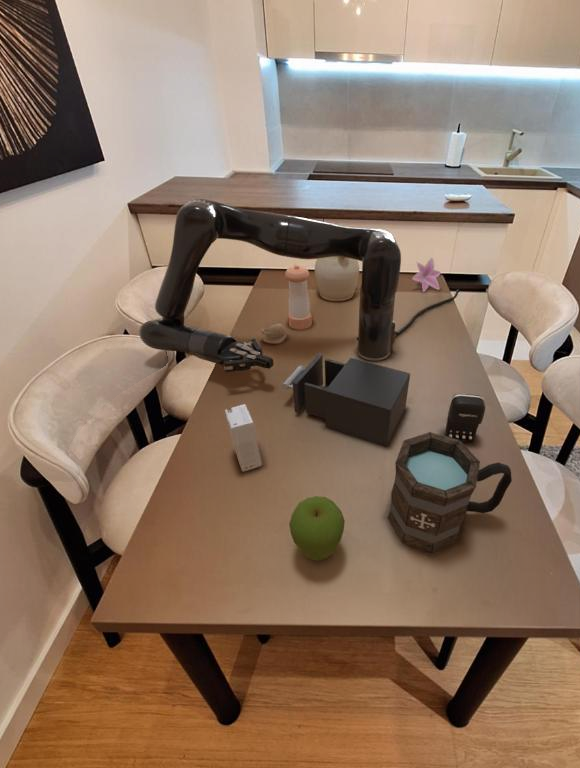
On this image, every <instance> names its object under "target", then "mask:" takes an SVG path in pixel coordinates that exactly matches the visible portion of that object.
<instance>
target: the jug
mask: <svg viewBox="0 0 580 768" xmlns="http://www.w3.org/2000/svg"><path fill="white" fill-rule="evenodd" d="M332 224H333V225H337V226H342V227H347V226H346V224H344V223H341V222H333V223H332ZM314 275H315V280H316V286H317V289H318V290H317V291H318V292H319V296H320V297H321V298H322V299H323V300H326V301H330V302H345V301H347V300H350V299H352V298H353V296H354V294H355V291H356V288H357V285H358V280H359V275H360V263H359V260H355V259H351V258H346V257H326V258H319V259H315V263H314Z"/></svg>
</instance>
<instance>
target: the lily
mask: <svg viewBox="0 0 580 768" xmlns="http://www.w3.org/2000/svg"><path fill="white" fill-rule="evenodd" d="M416 267H417V269H418V272H417V273H415V274H414V275H413V276H412V278H411V279H412V280H413V281H415V282H418V283H421V287H422V292H423V293H425V292H426V291H427V289H428V288H429V286H430V287H431V288H433V289H436V290H438V291H439V290H440V285H439V282H438V279H437V278H438V277H439V276H440V275H441V274H442V272H441V271H439V270H435V261H434V258H433V257H430V258H429V260H428V261H427V262H426V264H422V263H420V262H418V261H417V262H416Z"/></svg>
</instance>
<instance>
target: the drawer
mask: <svg viewBox="0 0 580 768" xmlns="http://www.w3.org/2000/svg"><path fill="white" fill-rule="evenodd" d="M323 362H324V363H323ZM323 364H324V365H323ZM345 364H346V362H345V363H344V362H340V361H336V360H333V359H329V358H325V359H324V361H323V354H320V353H318V354H316V356H315V357H314V358H313V359H312V360H311V361H310V362H309V363H308V364H307V366H306V367H305V366H303V365H298V367H297V368H296V369H295V370H293V372H292V373H291V374H290V375H289V376H288V378H286V379H285V381H283V382H282V384H281V387H282V389H284V390H288V389H290V390H292V393H293V394H292V395H293V406H294V413H296V414H301V412H302V411H303V410H304V409H305V413H306V414H309V415H312V416H316V417H318V418H322V419H324V420H326V415H325V390H326V389H327V388H328V386H329V385H330V384H331V382H332V381H333V380H334V378H335V377H336V376H337V375H338V373H339V372H340V371H341V369H342V368H343V367H344V366H345ZM323 366H324V368H323Z"/></svg>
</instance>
